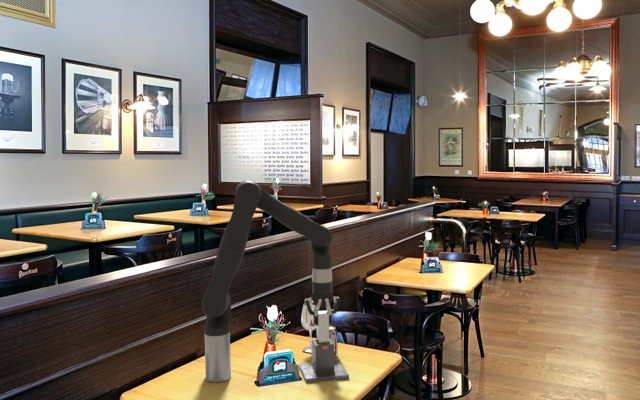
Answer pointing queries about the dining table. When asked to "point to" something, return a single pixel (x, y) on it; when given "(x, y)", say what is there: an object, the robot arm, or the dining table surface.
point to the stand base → (323, 364)
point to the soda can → (333, 338)
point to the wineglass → (308, 324)
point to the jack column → (323, 327)
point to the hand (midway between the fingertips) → (322, 324)
